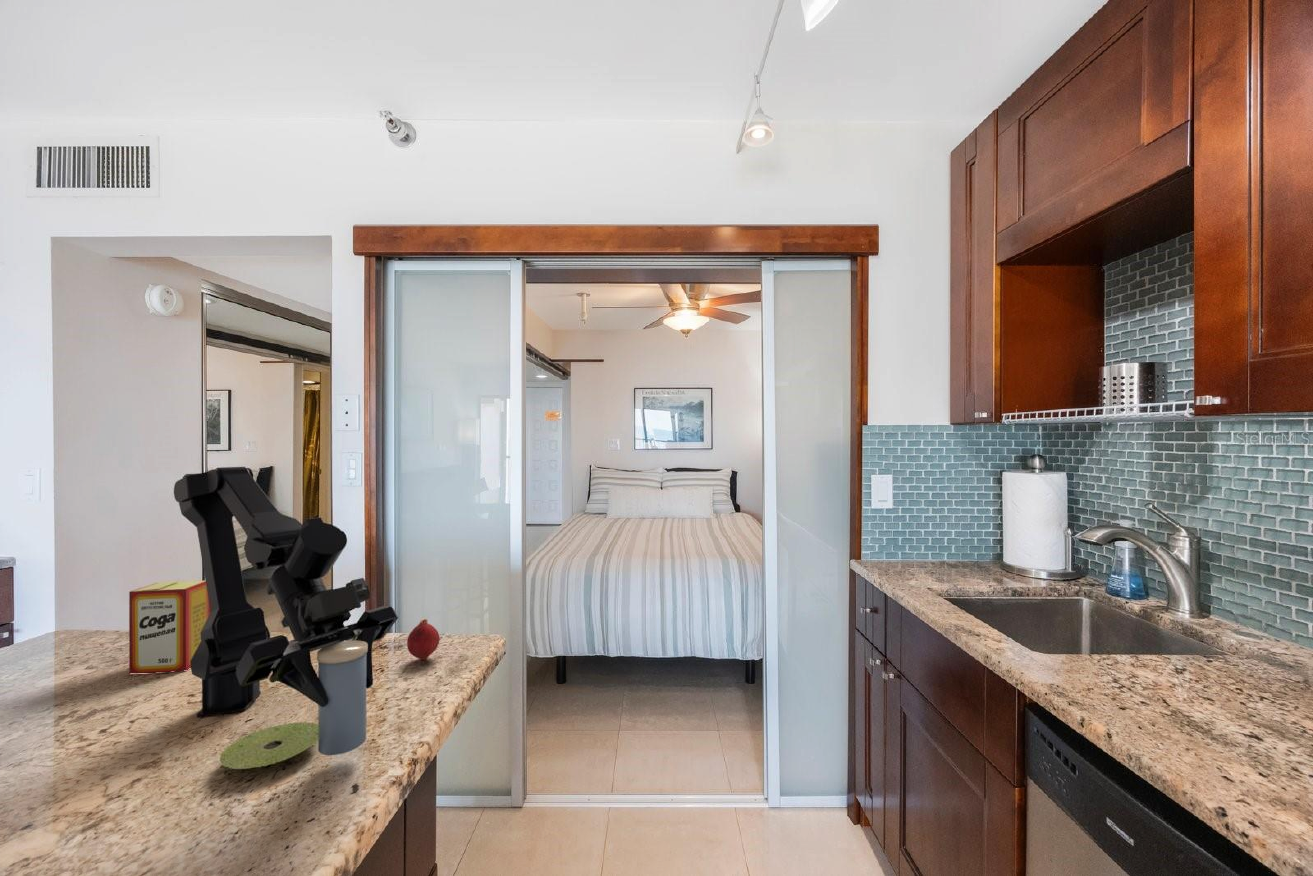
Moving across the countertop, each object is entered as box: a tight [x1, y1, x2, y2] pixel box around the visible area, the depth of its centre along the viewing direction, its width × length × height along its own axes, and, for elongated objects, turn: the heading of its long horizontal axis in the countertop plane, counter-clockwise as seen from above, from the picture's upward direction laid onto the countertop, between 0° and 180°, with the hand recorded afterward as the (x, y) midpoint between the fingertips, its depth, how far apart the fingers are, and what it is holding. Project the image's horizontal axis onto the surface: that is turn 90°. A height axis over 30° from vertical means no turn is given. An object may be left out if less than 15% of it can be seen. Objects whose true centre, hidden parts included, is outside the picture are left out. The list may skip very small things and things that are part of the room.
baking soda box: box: [128, 580, 210, 674], centre depth 103 cm, size 10×6×16 cm
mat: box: [219, 721, 318, 770], centre depth 72 cm, size 11×11×2 cm
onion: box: [406, 618, 441, 661], centre depth 104 cm, size 6×6×8 cm
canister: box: [316, 640, 368, 756], centre depth 70 cm, size 6×6×12 cm
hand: (348, 695), depth 70 cm, fingers closed on canister, 5 cm apart
